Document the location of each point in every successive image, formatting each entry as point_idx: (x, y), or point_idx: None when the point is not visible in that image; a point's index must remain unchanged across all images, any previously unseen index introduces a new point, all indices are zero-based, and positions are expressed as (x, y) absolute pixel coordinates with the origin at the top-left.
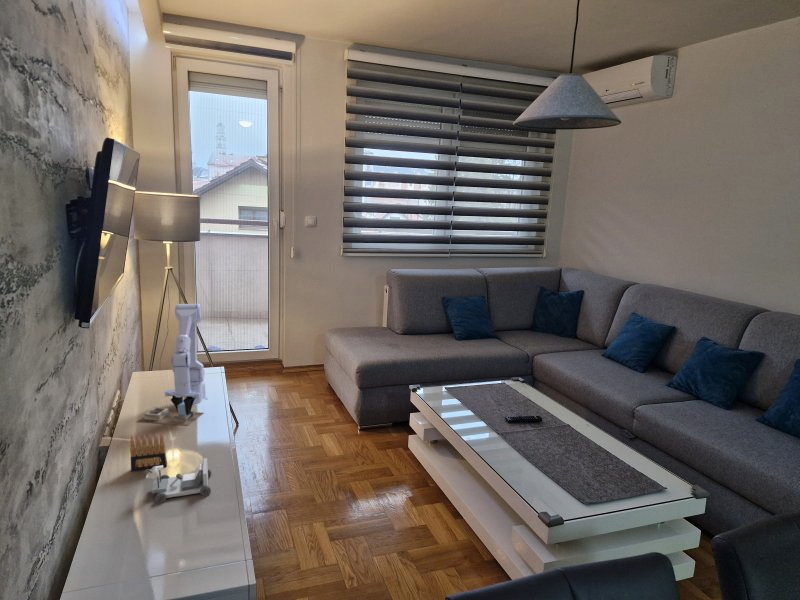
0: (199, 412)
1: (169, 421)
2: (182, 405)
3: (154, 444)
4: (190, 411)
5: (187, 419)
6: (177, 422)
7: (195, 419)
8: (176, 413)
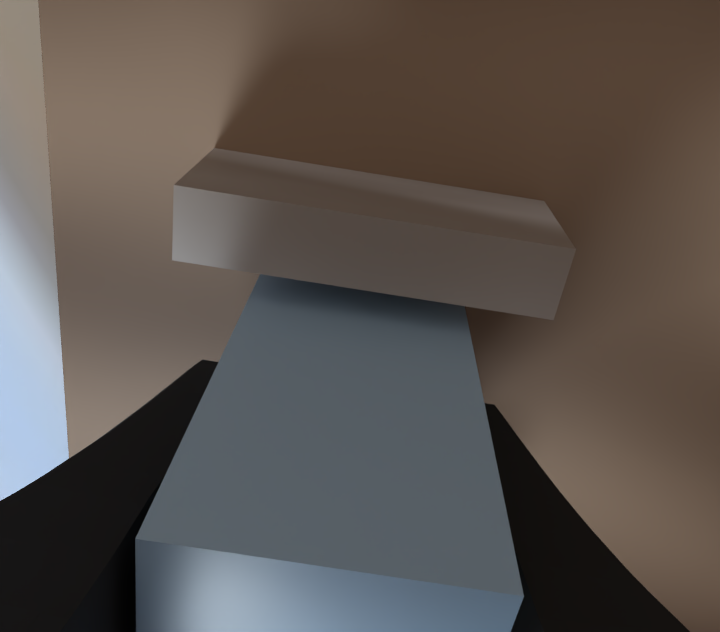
0: None
1: (668, 194)
2: (282, 602)
3: None
4: None
5: None
6: (433, 131)
7: (66, 306)
8: None
